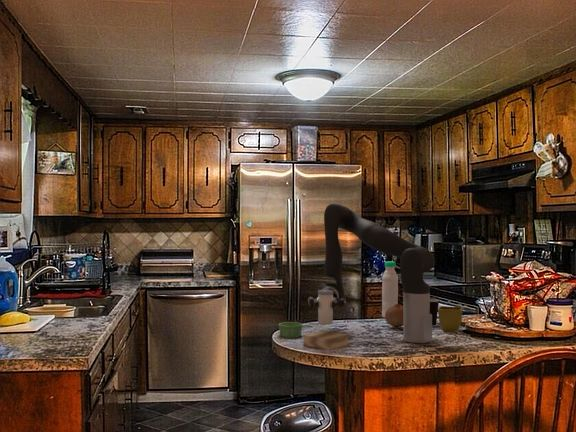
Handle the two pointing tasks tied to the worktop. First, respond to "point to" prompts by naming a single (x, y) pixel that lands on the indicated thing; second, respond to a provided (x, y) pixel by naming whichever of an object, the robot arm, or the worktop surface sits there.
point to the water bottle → (389, 287)
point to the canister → (325, 306)
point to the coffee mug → (434, 310)
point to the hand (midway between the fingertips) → (325, 305)
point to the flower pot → (450, 318)
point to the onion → (395, 315)
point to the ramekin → (290, 329)
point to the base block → (325, 340)
